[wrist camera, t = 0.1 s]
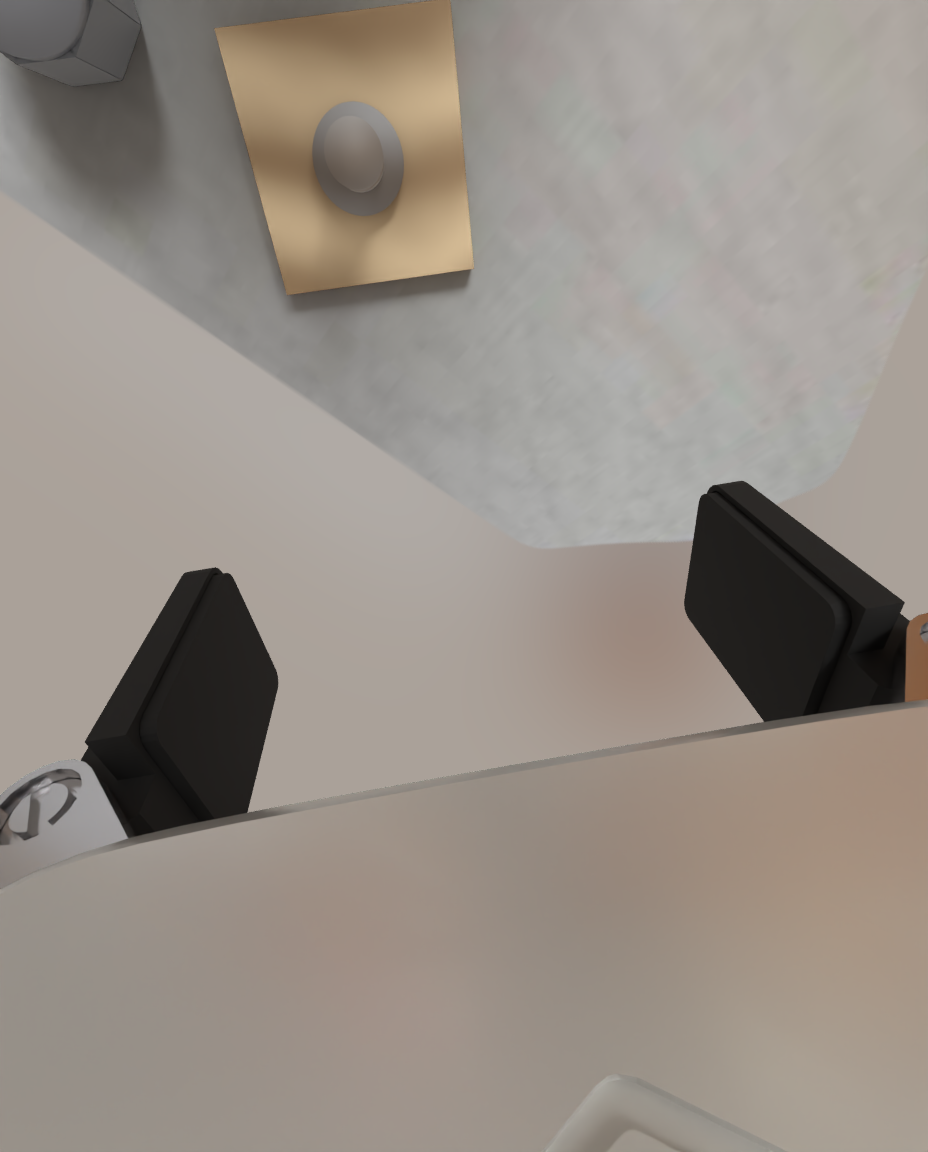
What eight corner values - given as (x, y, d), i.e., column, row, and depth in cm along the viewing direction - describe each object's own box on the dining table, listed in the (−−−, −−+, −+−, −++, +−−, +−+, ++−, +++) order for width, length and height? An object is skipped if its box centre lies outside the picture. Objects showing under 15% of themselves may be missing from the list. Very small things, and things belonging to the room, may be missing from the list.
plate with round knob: (220, 35, 27) (177, -10, 22) (448, 5, 28) (461, -46, 22) (290, 292, 34) (270, 307, 29) (471, 267, 35) (486, 277, 29)
